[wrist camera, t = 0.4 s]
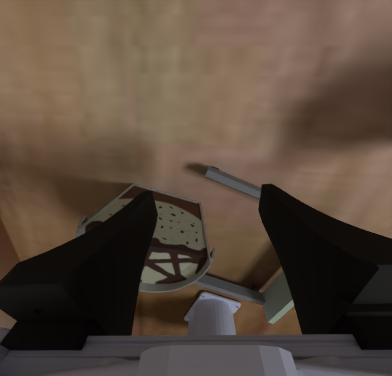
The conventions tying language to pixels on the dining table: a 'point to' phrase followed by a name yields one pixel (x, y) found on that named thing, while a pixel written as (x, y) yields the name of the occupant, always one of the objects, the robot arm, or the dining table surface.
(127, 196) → the food container
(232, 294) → the grey u-shaped frame
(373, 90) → the dining table surface
